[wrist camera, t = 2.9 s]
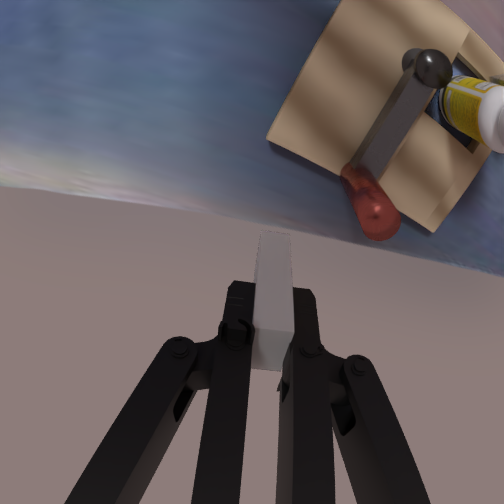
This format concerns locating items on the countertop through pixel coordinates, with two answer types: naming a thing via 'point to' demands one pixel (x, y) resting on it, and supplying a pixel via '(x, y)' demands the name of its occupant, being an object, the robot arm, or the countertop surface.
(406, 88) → the lever
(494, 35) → the countertop surface
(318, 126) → the tan flat square sheet
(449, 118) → the pill bottle
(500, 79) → the grey angular block
